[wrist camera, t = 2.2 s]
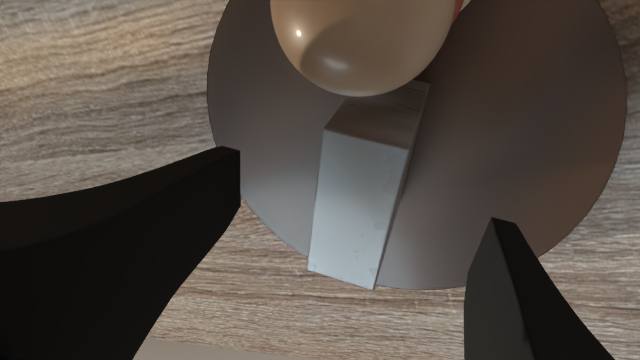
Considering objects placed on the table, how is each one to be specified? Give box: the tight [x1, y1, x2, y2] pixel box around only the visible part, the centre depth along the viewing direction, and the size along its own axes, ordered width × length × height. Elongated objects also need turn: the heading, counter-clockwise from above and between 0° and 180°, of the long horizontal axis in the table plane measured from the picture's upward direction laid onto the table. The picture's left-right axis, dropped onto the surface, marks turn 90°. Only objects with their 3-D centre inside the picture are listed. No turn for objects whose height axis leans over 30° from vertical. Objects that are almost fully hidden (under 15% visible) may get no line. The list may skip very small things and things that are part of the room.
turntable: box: [207, 0, 627, 290], centre depth 12 cm, size 15×15×10 cm
